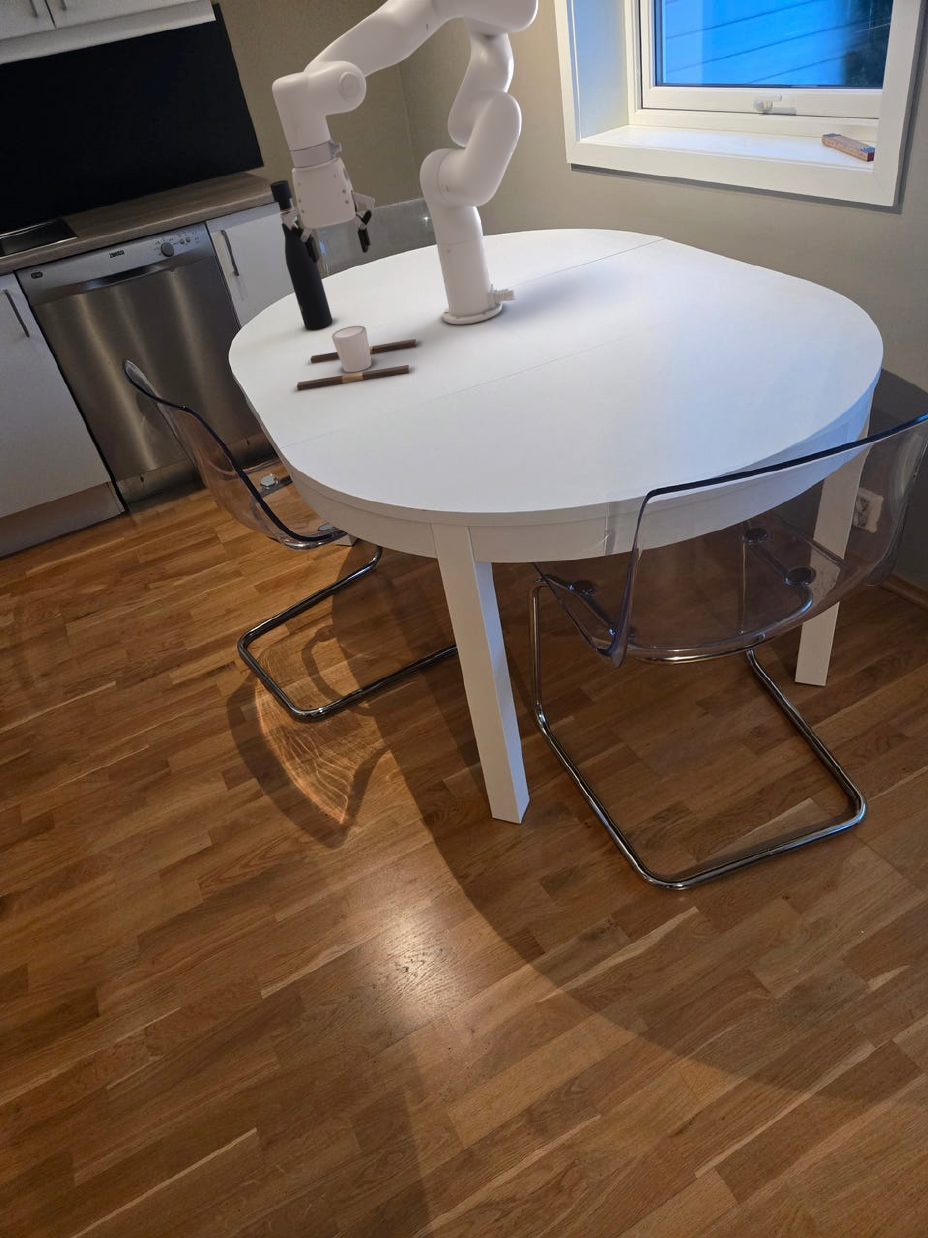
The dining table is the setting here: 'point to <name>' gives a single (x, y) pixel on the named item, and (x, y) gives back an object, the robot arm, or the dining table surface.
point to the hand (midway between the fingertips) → (341, 255)
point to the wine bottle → (302, 268)
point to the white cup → (352, 348)
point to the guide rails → (360, 375)
